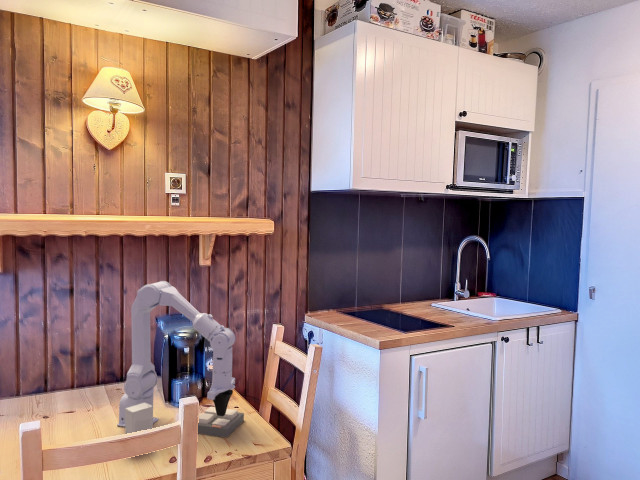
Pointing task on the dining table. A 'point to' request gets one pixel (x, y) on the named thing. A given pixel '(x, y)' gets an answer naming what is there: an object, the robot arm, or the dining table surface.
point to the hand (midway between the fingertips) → (221, 415)
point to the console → (220, 430)
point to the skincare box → (138, 418)
